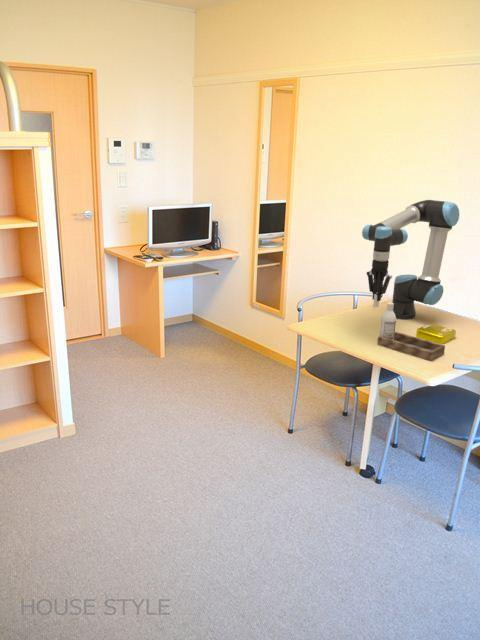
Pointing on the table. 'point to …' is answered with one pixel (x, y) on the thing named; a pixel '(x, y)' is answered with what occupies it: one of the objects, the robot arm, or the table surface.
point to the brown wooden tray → (413, 346)
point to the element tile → (436, 333)
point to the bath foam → (388, 322)
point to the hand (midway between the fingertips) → (375, 306)
